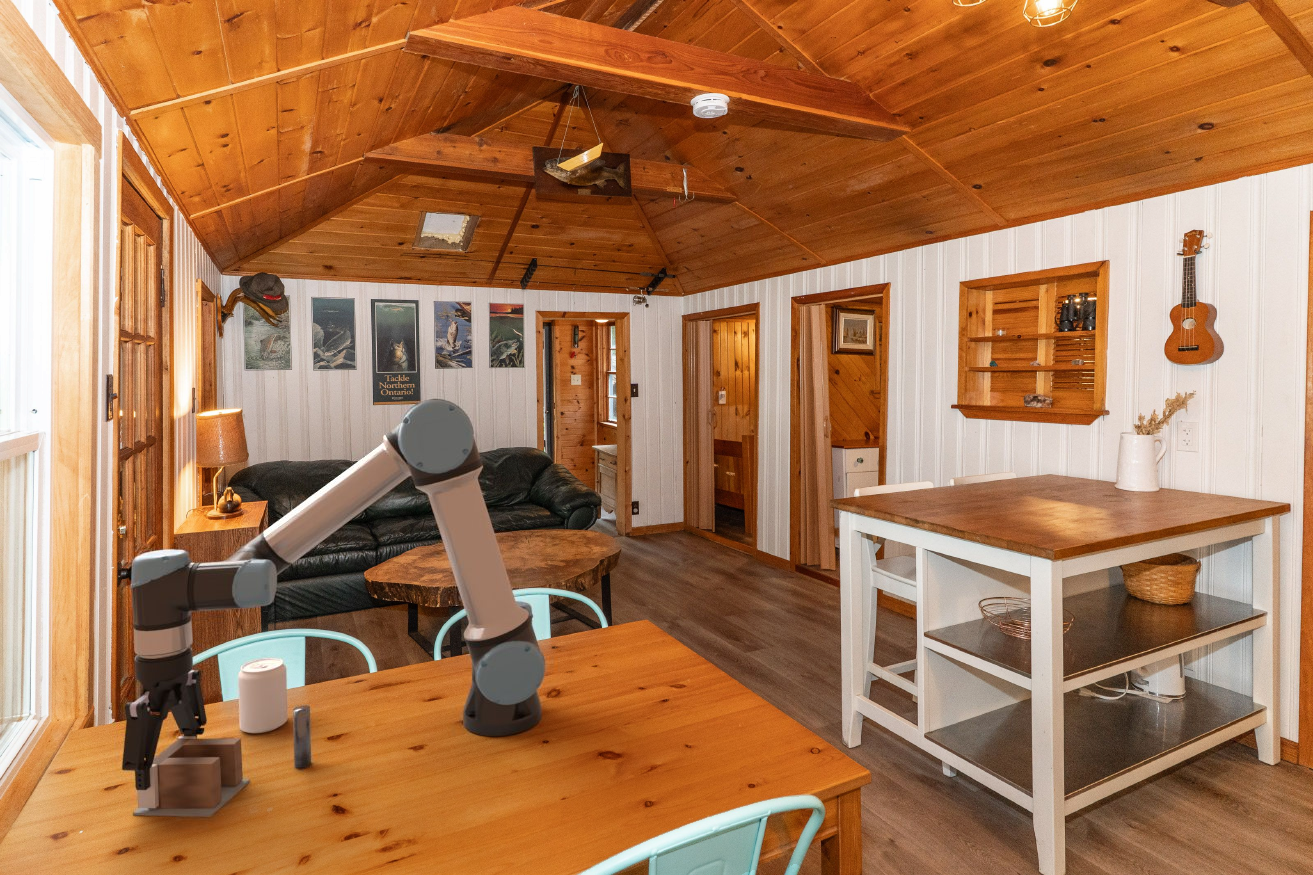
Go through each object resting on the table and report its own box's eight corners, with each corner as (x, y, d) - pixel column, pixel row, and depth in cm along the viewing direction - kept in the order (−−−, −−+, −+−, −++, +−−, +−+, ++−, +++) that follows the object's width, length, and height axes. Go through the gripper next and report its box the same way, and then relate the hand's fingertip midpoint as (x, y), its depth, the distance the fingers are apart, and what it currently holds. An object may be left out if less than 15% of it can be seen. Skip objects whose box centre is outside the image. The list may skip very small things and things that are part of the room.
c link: (147, 808, 110) (145, 764, 110) (180, 779, 118) (178, 738, 118) (214, 807, 111) (212, 763, 110) (242, 779, 119) (240, 738, 118)
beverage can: (267, 737, 134) (265, 674, 133) (229, 733, 136) (227, 670, 135) (297, 718, 142) (295, 658, 141) (261, 714, 143) (259, 655, 143)
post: (314, 761, 126) (312, 705, 125) (306, 769, 123) (305, 711, 122) (299, 760, 126) (298, 704, 125) (291, 768, 123) (290, 711, 122)
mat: (249, 781, 119) (249, 778, 119) (210, 816, 109) (210, 814, 109) (178, 779, 119) (178, 777, 119) (132, 814, 109) (132, 812, 109)
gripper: (186, 627, 123) (190, 756, 125) (85, 676, 102) (92, 830, 104) (229, 628, 123) (233, 757, 125) (136, 677, 102) (143, 831, 104)
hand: (169, 790), depth 114 cm, fingers closed on c link, 8 cm apart
